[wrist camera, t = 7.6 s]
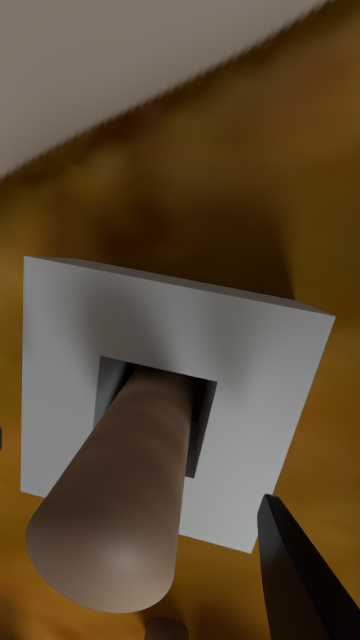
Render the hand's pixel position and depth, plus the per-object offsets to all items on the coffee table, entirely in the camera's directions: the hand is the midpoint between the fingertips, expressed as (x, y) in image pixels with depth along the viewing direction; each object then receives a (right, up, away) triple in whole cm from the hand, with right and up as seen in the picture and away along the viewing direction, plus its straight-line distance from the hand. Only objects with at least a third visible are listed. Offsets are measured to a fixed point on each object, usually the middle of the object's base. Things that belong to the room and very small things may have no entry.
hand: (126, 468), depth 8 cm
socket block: (+1, +1, +6) cm, 7 cm away
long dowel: (+1, +1, +6) cm, 7 cm away
